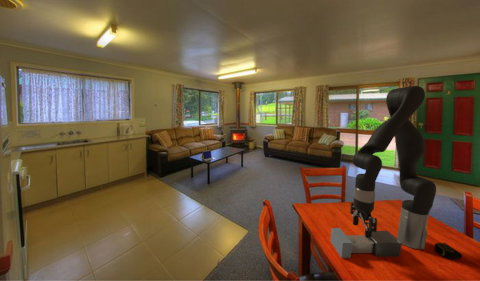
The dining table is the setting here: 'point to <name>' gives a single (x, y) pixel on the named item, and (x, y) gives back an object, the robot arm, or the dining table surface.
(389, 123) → the robot arm
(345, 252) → the grey block
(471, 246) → the dining table surface
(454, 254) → the tape measure
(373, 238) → the sleeve
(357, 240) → the light grey square bar
